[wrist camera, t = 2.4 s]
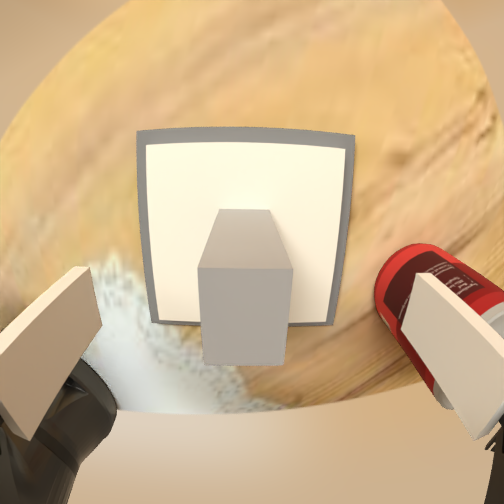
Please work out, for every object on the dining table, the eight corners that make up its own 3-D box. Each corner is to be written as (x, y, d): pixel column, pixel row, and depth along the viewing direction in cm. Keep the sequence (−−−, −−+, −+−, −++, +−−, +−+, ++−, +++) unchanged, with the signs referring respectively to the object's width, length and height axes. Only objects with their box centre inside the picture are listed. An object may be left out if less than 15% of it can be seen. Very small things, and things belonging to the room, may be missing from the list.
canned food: (431, 321, 23) (495, 397, 13) (360, 323, 23) (415, 422, 13) (456, 244, 21) (545, 302, 10) (382, 235, 20) (476, 308, 10)
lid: (162, 312, 21) (120, 414, 12) (150, 144, 17) (63, 148, 8) (322, 314, 22) (365, 416, 12) (340, 148, 17) (430, 156, 8)
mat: (154, 317, 22) (151, 322, 21) (140, 131, 17) (136, 130, 17) (330, 319, 23) (333, 325, 22) (350, 135, 18) (355, 135, 17)
